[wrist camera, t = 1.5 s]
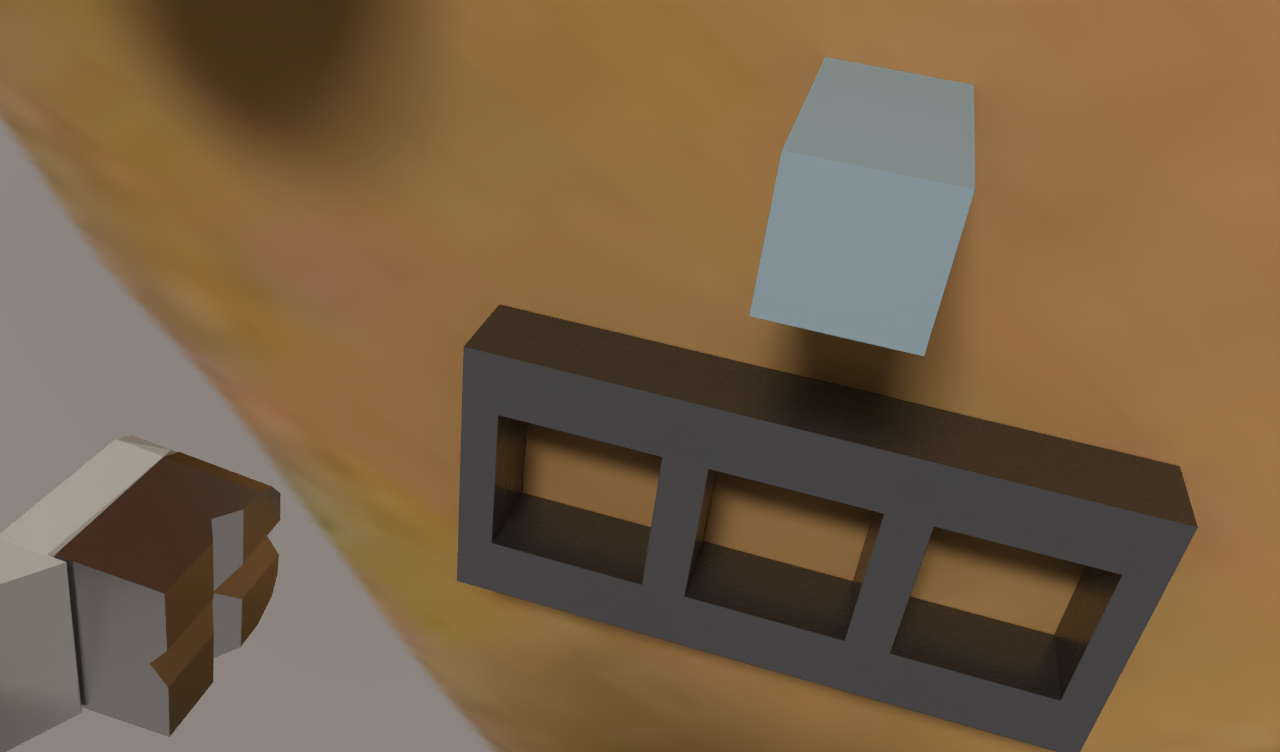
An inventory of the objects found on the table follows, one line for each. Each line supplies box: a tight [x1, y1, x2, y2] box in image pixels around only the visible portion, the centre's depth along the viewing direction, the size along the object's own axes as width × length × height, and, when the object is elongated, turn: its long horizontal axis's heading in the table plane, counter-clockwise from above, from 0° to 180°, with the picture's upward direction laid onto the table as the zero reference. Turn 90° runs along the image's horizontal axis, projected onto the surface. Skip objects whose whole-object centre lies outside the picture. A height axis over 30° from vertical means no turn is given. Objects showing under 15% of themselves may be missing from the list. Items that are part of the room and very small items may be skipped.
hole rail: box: [457, 305, 1198, 752], centre depth 35 cm, size 22×10×3 cm, turn 83°
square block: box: [750, 57, 975, 356], centre depth 26 cm, size 4×4×8 cm
